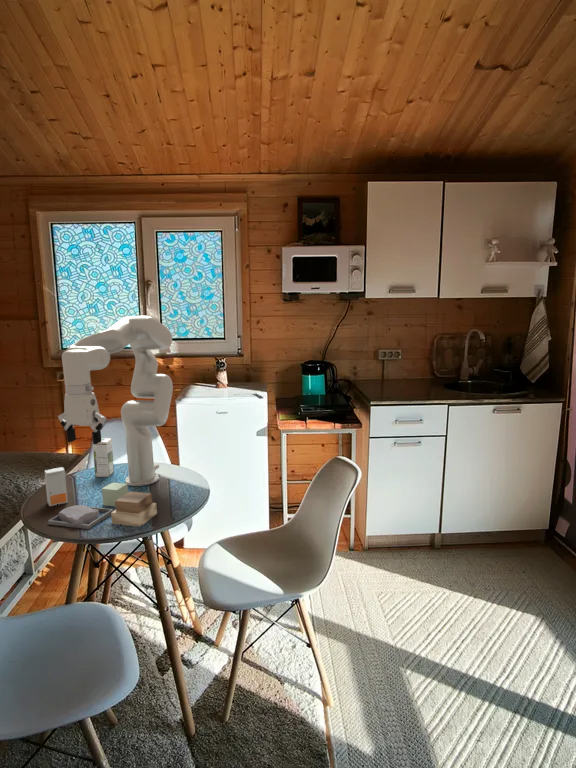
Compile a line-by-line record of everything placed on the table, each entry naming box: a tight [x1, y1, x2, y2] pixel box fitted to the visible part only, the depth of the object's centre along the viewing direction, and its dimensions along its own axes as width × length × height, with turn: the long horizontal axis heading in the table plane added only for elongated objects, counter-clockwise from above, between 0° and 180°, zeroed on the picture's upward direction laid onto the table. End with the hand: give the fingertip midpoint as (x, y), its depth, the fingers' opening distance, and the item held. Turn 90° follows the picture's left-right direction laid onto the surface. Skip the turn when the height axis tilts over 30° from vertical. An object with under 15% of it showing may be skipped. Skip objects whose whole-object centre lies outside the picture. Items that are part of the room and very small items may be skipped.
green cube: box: [101, 482, 129, 507], centre depth 176 cm, size 6×6×6 cm
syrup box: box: [92, 437, 115, 478], centre depth 204 cm, size 6×6×14 cm
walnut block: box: [115, 491, 153, 514], centre depth 162 cm, size 8×8×4 cm
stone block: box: [58, 504, 100, 528], centre depth 164 cm, size 12×5×10 cm
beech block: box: [110, 502, 158, 528], centre depth 163 cm, size 10×10×4 cm
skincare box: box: [44, 466, 69, 507], centre depth 176 cm, size 6×4×12 cm
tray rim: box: [47, 504, 114, 530], centre depth 164 cm, size 12×15×1 cm
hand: (84, 442), depth 162 cm, fingers open, 9 cm apart
